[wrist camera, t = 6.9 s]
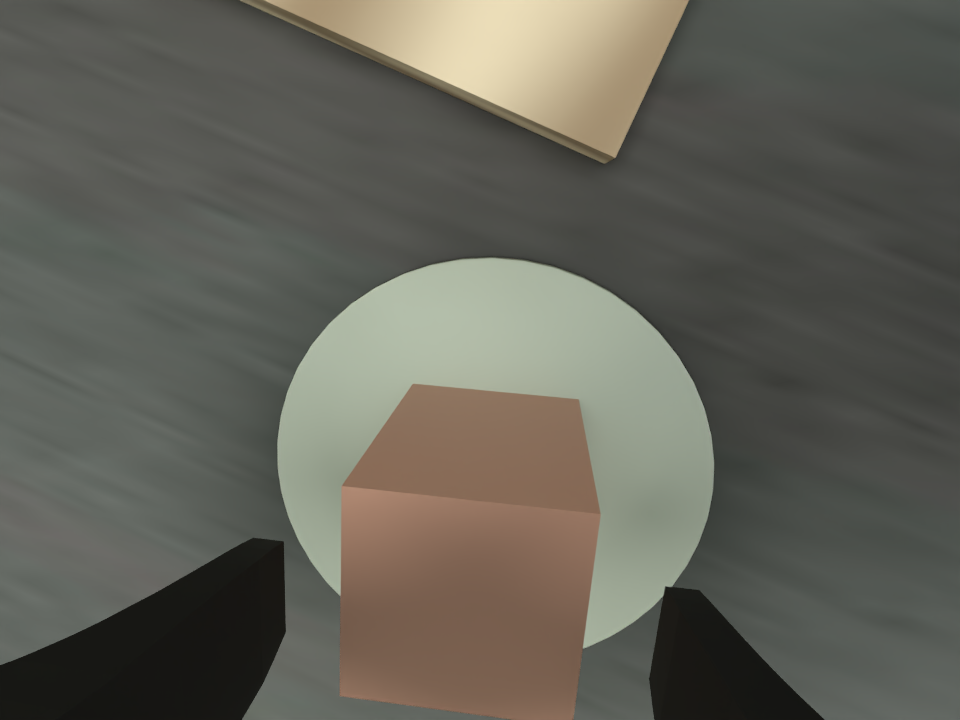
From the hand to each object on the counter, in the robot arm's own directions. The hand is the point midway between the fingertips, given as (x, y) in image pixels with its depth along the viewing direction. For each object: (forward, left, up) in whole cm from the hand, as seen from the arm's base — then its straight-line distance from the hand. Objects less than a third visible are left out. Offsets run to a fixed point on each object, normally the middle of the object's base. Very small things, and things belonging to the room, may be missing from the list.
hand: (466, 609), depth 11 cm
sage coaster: (0, 0, -6) cm, 6 cm away
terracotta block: (0, 0, -6) cm, 6 cm away
